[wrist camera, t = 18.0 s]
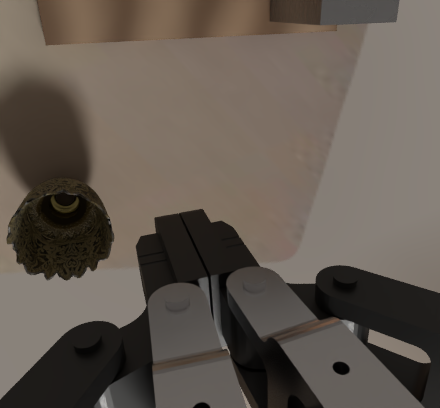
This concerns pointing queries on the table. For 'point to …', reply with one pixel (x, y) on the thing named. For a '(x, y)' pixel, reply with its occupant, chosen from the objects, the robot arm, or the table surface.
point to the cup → (60, 230)
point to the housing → (333, 11)
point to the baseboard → (159, 20)
